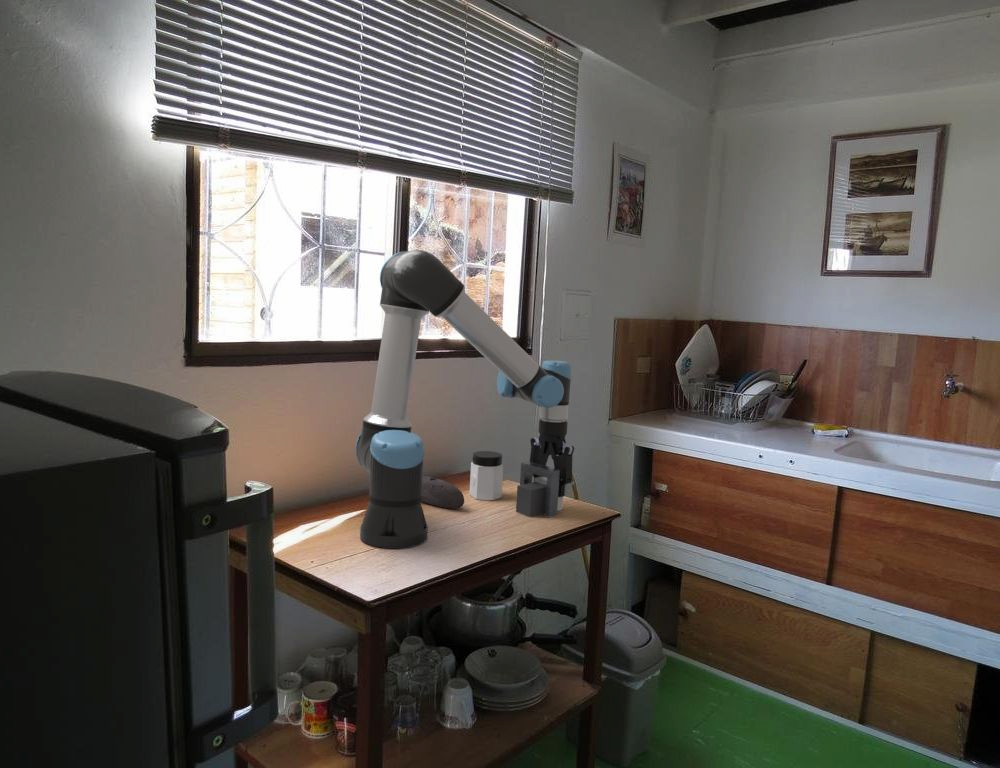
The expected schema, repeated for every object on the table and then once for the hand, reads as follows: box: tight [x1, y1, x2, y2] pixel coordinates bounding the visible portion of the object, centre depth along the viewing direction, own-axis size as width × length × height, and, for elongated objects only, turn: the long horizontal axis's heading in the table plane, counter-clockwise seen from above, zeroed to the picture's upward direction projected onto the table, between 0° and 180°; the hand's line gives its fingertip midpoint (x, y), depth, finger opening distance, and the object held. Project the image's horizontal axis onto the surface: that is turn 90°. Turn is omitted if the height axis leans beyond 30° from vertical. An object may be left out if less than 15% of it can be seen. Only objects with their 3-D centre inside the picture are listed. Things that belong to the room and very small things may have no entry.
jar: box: [469, 450, 504, 501], centre depth 196 cm, size 9×8×12 cm
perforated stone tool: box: [421, 475, 465, 510], centre depth 185 cm, size 15×5×7 cm, turn 55°
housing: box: [519, 460, 560, 518], centre depth 185 cm, size 3×11×12 cm, turn 44°
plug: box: [515, 476, 564, 518], centre depth 187 cm, size 14×6×8 cm, turn 134°
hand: (547, 504), depth 189 cm, fingers closed on plug, 6 cm apart
